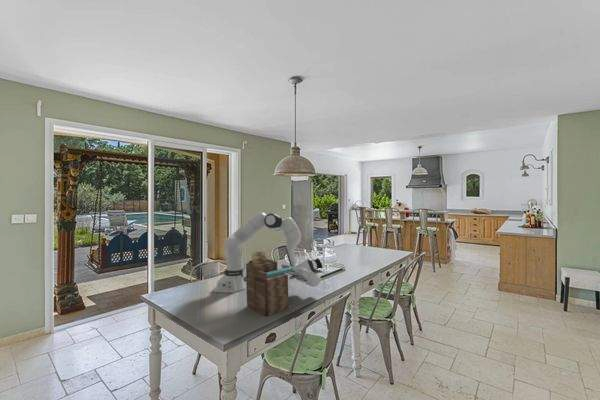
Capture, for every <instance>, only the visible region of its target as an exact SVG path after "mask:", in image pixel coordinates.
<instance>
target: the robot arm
mask: <svg viewBox="0 0 600 400" xmlns="http://www.w3.org/2000/svg"><path fill="white" fill-rule="evenodd" d="M265 227H266V228H268V229H270V230H271V231H272V230H273V231H282V232H283V235H284V237H285V241H286V243H285V245H284V246H285V252H286V255H287V259H288V261H289V264H281V269H283V268H287V267H292V268H291V270H293V272H289V273H288V274H291V276H292V277H293V278H295V280H297V281H299V282H302V283H304V284H305V285H308V286H310V287H318V286H319V285H320V283H321V281H322V279H321V276H320V275H319V272H318V271H317V263H316V262H315V261H314V260H315V259H313V258H310V257H309V258H306V259H304V260H302V261H301V262H299V263H298V260H297V257H296V254H295V253H296V248H297V247H298V245H299V244H300V242H301V241H302V232H301V230H300V229H299V226H298V225H297V223H296V221H295V220H294V219H293V218H292V217H290V216H289V217H284V218H283V217H281V216H280V215H279V214H276V213H273V212H272V213H271V212H270V213H268V214H266V213H265V212H262V211H259V212H257V213H255V214H254V215H252V216H251V217H250V218H248V220H247V221H246V222H244V223H243V224H242V225H241V226H240V227H239V228H237V230H236V231H234V232H233V233H232V234H230V235H229V236H228V237H227V238H226V239H225V241H224V250H225V257H226V268H225V269H224V270H223V273H224V275H222V276H221V277H220V278H219V279H218V280H217V282H216V285H215V286H214V288H213V289H212V291H213V293H230V294H232V293H236V292H240V291H243V290H244V289H247V286H246V284H245V281H244V280H245V279H244V276H245V274H244V272H245V271H244V268H243V266H244V265H243V262H244V261H243V255H242V246H244V245H245V244H246V243H247V242H248V241H250V240H251V239H252V238H253V237H254V236H255V235H256V234H257V233H259V232H260V231H261V230H262V229H263V228H265Z"/></svg>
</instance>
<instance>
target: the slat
mask: <svg viewBox="0 0 600 400" xmlns="http://www.w3.org/2000/svg"><path fill="white" fill-rule="evenodd" d="M282 268H283V267H282ZM282 268H279V269H277V270H274V271H270V272H266V273H267V278H269V277H273V276H277V275H281V274H290V273H289V272H293V270H291V268H292V267H287V268H283V269H282Z"/></svg>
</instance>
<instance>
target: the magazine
mask: <svg viewBox="0 0 600 400" xmlns="http://www.w3.org/2000/svg"><path fill="white" fill-rule="evenodd" d="M313 260H314V261H315V262H316V263H317V269H318V268H321V269H323V265H322V264H323V263H322V262H321V260H320V259H319V258H318V257H317V258H316V259H313Z"/></svg>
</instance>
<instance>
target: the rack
mask: <svg viewBox="0 0 600 400" xmlns="http://www.w3.org/2000/svg"><path fill="white" fill-rule="evenodd" d="M251 260H252V263H246V264H245V268H246V269H245V274H246V275H245V276H246V307H248V308H249V309H251V310H253V311H256V312H257V313H259V314H261V315H263V316H265V317H268V316H270V315H273V314H277V313H279V312H282V311H284V310H288V309H289V305H290V304H289V273H285V274H281V275H277V276H273V277H269V278H267V273H266V272H270V271H274V270H278V261H276V260H273V259H268V258H267V256H266V251H260V250H259V251H255V252H251Z"/></svg>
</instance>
